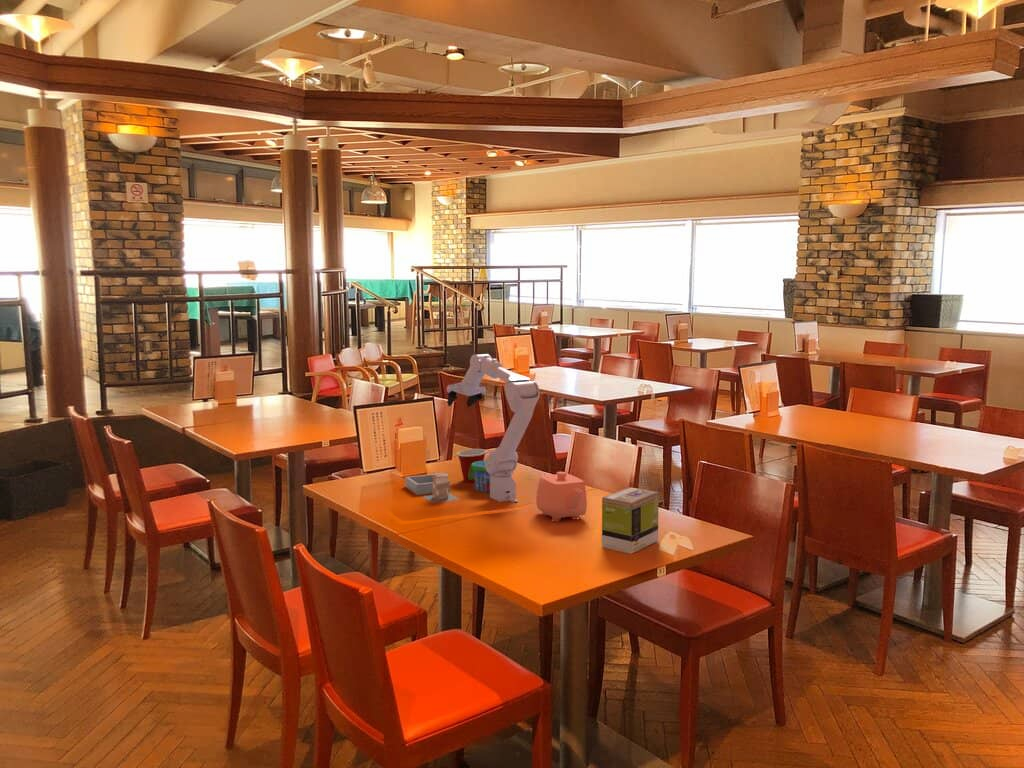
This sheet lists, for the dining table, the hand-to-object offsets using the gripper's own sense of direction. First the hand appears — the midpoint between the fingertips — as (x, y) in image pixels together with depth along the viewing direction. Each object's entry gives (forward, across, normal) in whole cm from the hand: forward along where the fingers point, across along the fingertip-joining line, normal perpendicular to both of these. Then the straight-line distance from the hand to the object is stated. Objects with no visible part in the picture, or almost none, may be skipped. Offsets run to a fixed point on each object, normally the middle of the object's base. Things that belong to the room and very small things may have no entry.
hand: (458, 404), depth 296 cm
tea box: (-38, -17, +82) cm, 92 cm away
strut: (+8, +12, +35) cm, 38 cm away
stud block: (+9, +12, +35) cm, 38 cm away
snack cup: (+10, -7, +31) cm, 34 cm away
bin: (+18, +12, +26) cm, 33 cm away
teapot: (-16, -14, +58) cm, 62 cm away
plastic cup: (+19, -7, +21) cm, 30 cm away
